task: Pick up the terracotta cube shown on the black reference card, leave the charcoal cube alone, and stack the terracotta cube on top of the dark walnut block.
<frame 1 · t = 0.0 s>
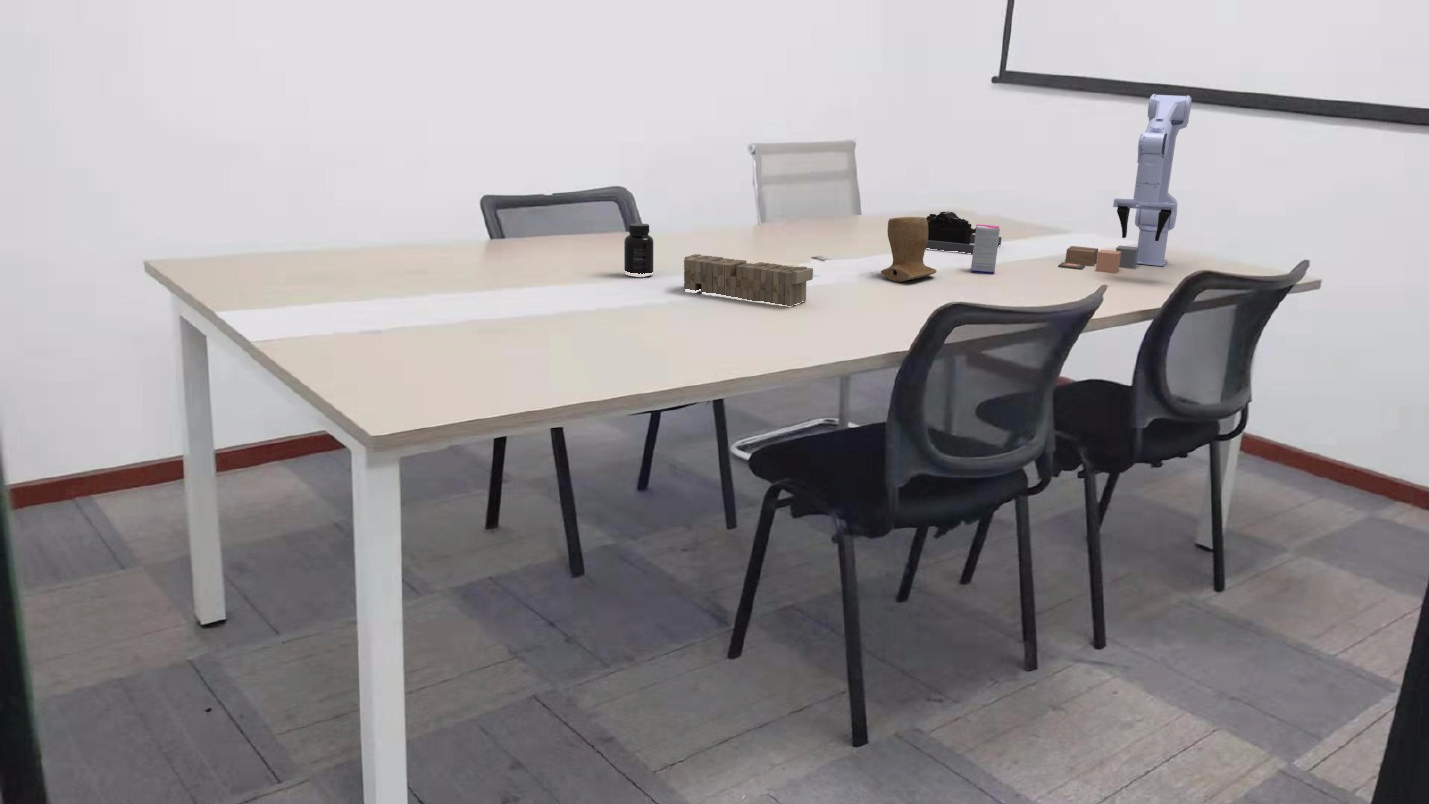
hand: (1140, 239, 287), 10 cm above the table, fingers open, 7 cm apart
block tower: (743, 299, 256), on the table
reference card: (1071, 266, 305), on the table
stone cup: (904, 278, 283), on the table
charcoal cube: (1125, 266, 308), on the table
terracotta cube: (1107, 271, 301), on the table
walnut block: (1080, 263, 311), on the table
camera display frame: (950, 246, 331), on the table
supplement box: (982, 272, 294), on the table
film camera: (949, 247, 331), resting on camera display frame
supplement bottle: (638, 276, 275), on the table
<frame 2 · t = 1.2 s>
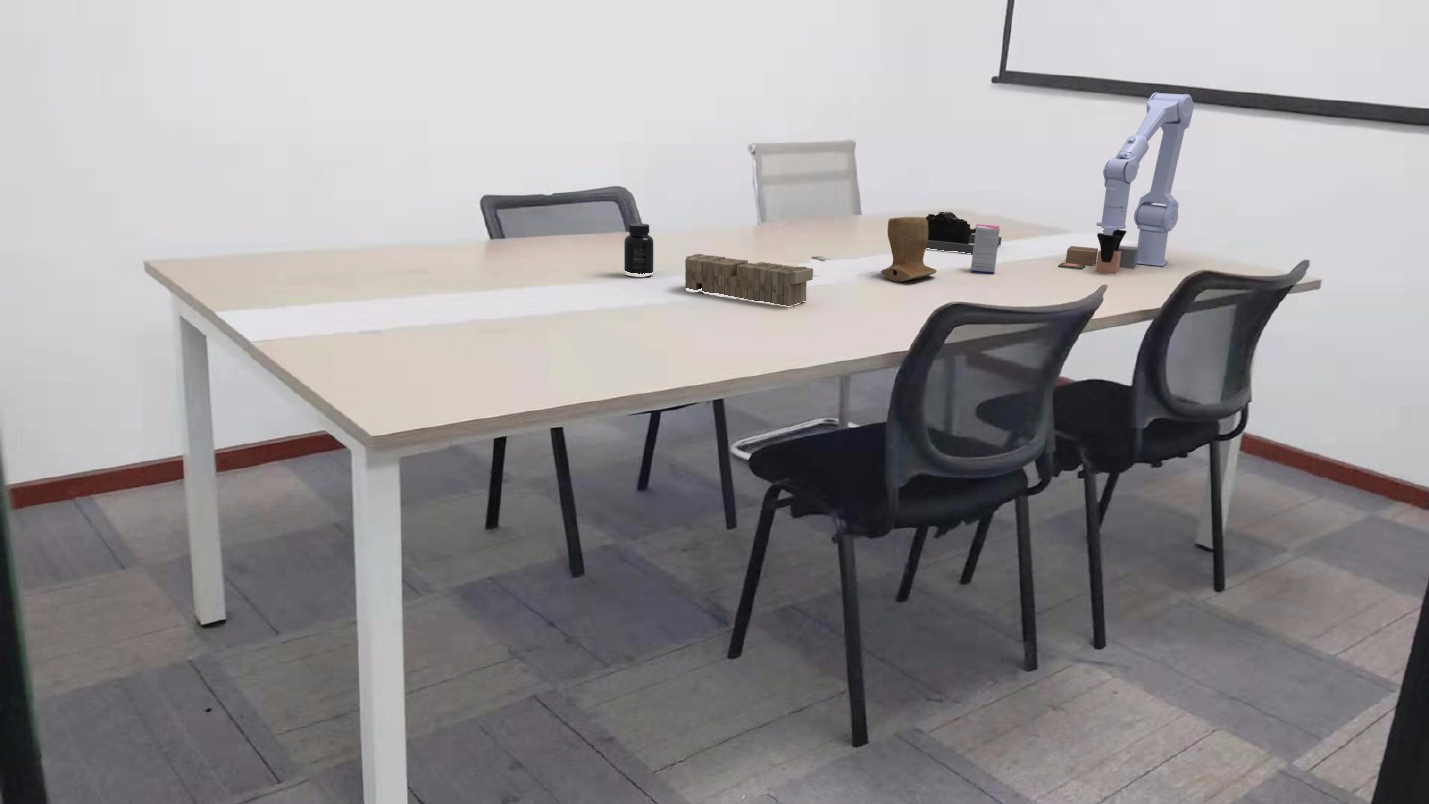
hand: (1108, 260, 300), 3 cm above the table, fingers open, 7 cm apart
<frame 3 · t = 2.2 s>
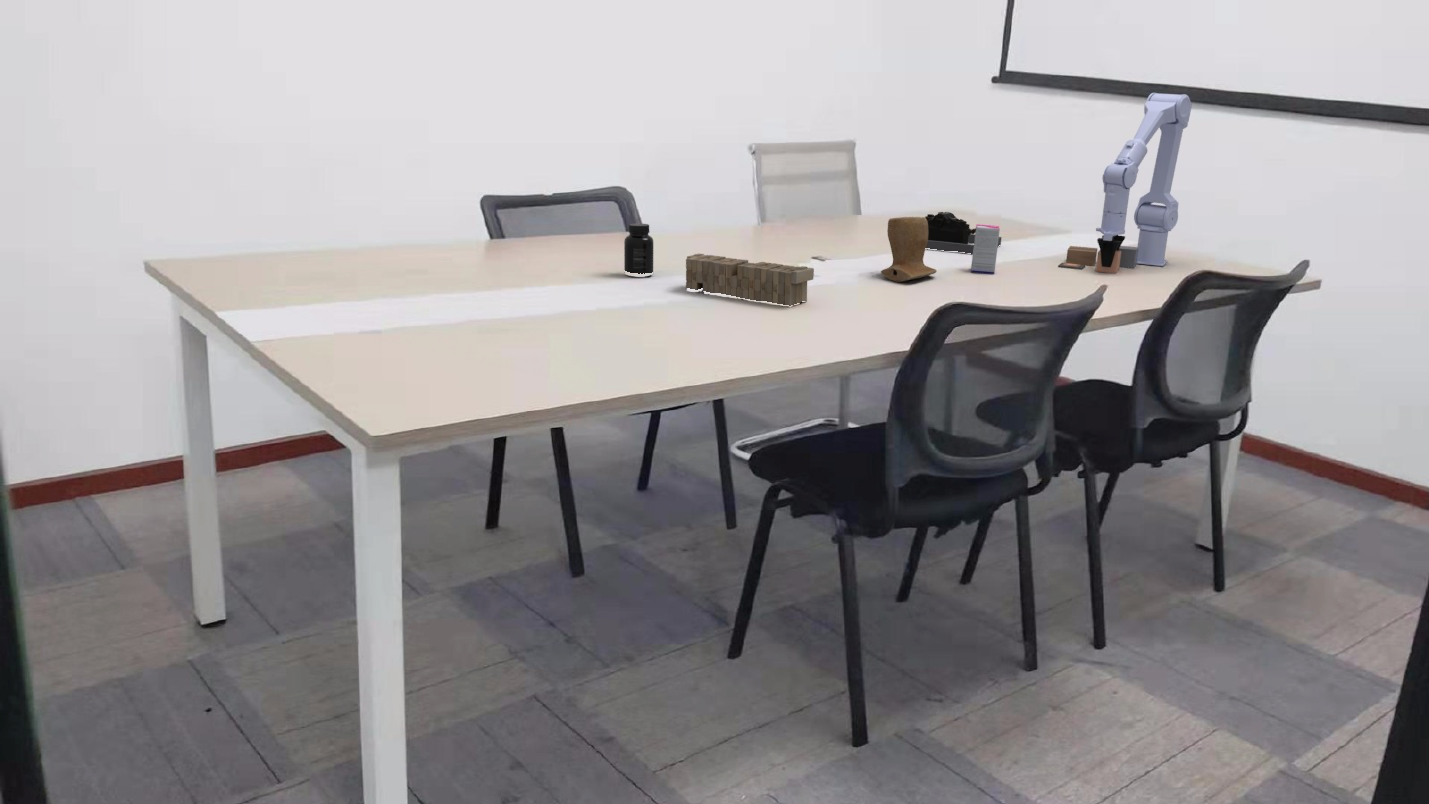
hand: (1107, 265, 300), 1 cm above the table, fingers closed on terracotta cube, 5 cm apart
terracotta cube: (1107, 270, 301), on the table, touching gripper
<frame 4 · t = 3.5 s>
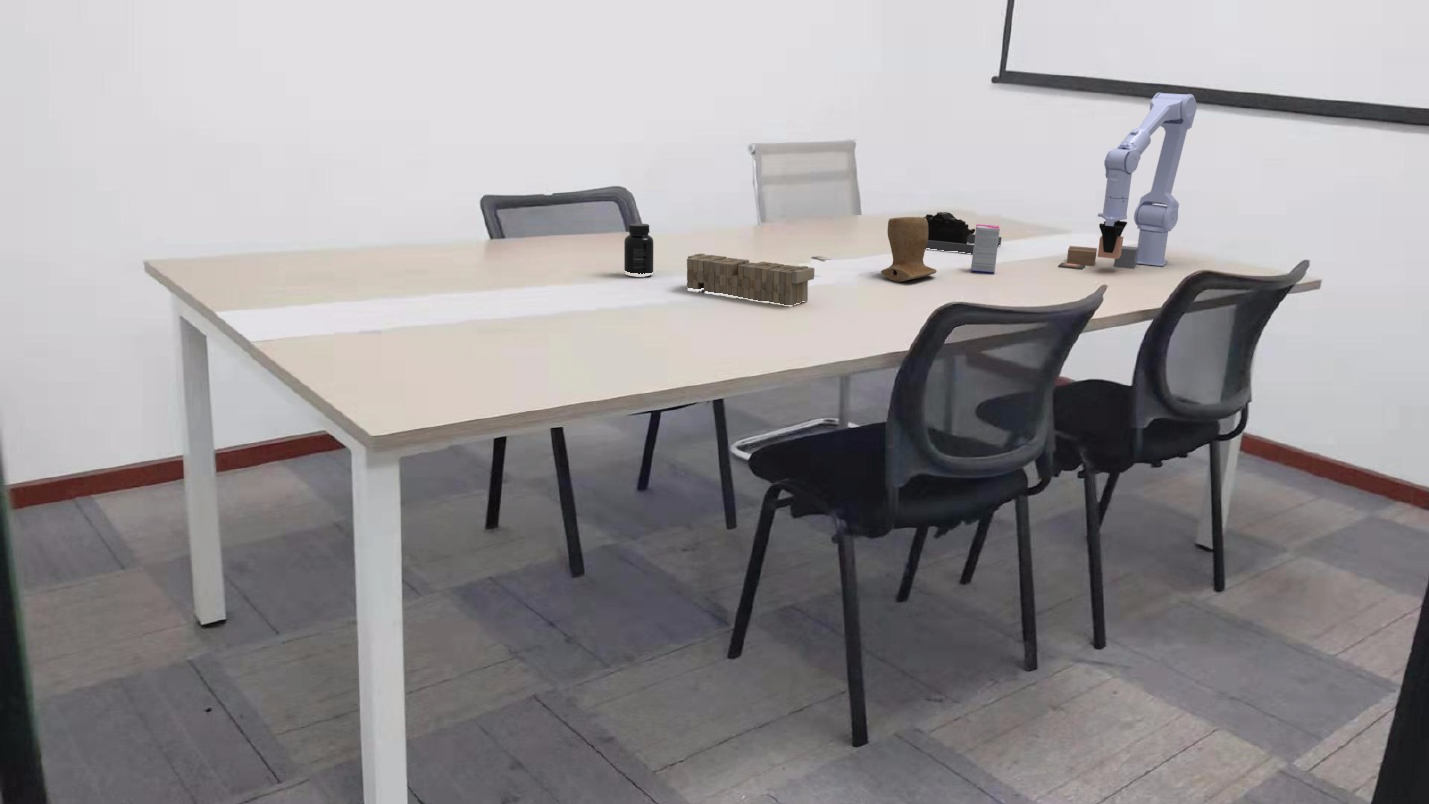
hand: (1109, 250, 299), 5 cm above the table, fingers closed on terracotta cube, 5 cm apart
terracotta cube: (1109, 256, 300), point 4 cm above the table, touching gripper
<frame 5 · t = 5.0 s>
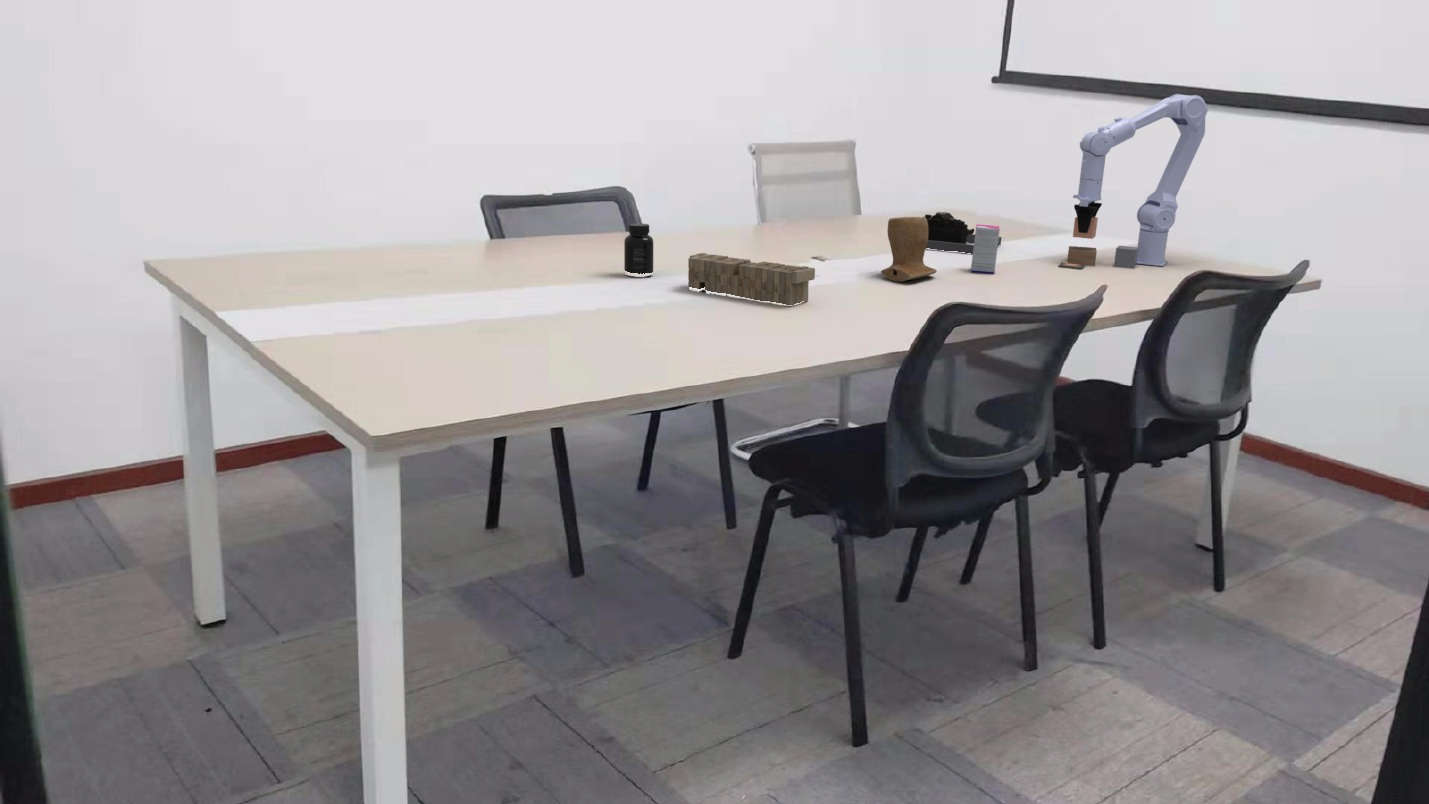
hand: (1084, 231, 308), 8 cm above the table, fingers closed on terracotta cube, 5 cm apart
terracotta cube: (1084, 236, 309), point 7 cm above the table, touching gripper
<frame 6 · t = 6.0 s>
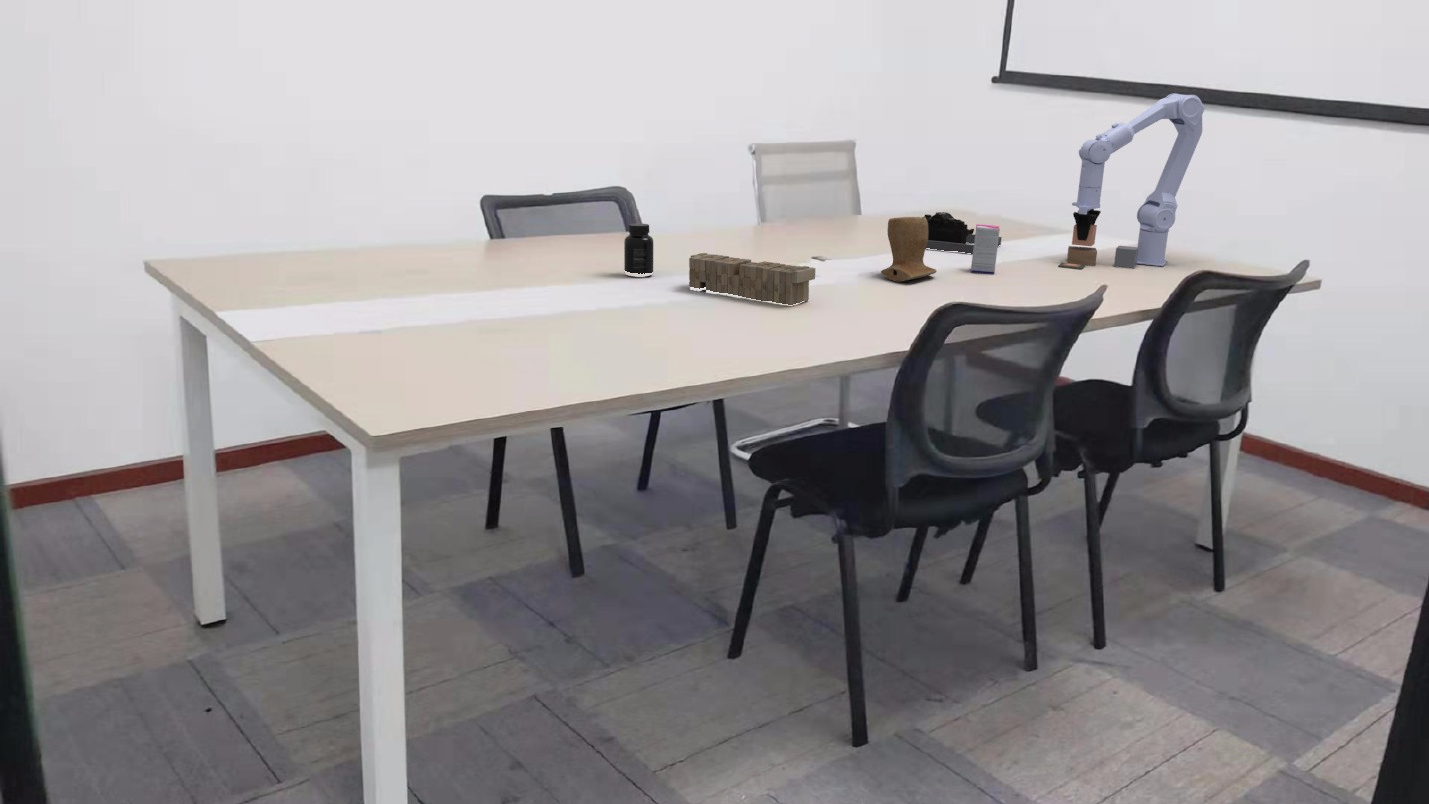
hand: (1083, 238, 309), 6 cm above the table, fingers closed on terracotta cube, 5 cm apart
terracotta cube: (1083, 244, 310), point 5 cm above the table, touching gripper
film camera: (944, 248, 329), resting on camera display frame
when the fingers open (6 cm above the table, at t = 6.3 s): terracotta cube drops 1 cm, point 4 cm above the table.
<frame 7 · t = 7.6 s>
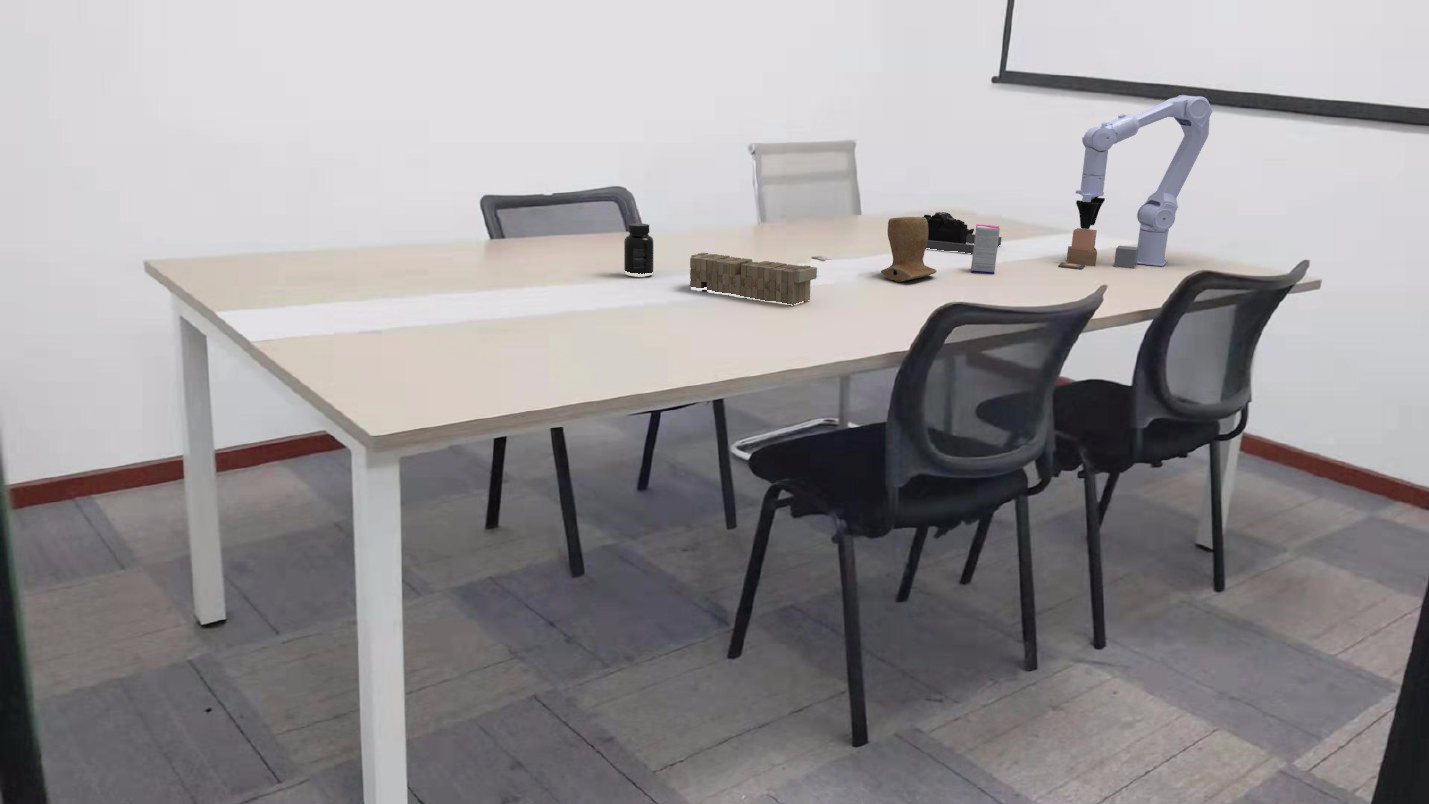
hand: (1087, 226, 309), 10 cm above the table, fingers open, 7 cm apart
terracotta cube: (1082, 249, 310), point 4 cm above the table
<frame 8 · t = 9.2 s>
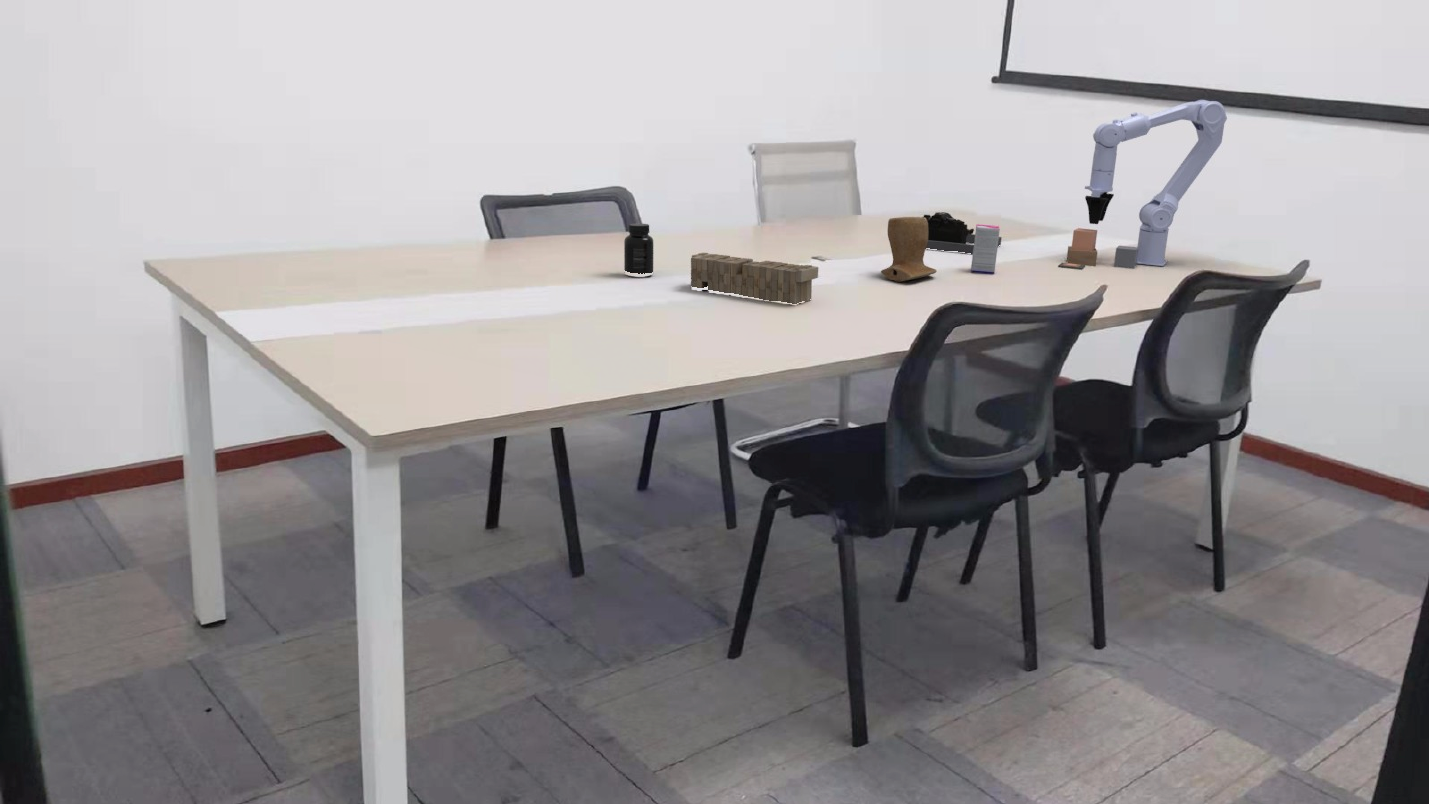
hand: (1096, 222, 311), 10 cm above the table, fingers open, 7 cm apart
terracotta cube: (1083, 249, 310), point 4 cm above the table, touching walnut block
walnut block: (1080, 263, 311), on the table, touching terracotta cube
film camera: (944, 248, 329), resting on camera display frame
at the end: terracotta cube 0.3 cm off-centre on the walnut block, point 4.0 cm above the walnut block's base; terracotta cube tilted 0°; the gripper is holding nothing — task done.
